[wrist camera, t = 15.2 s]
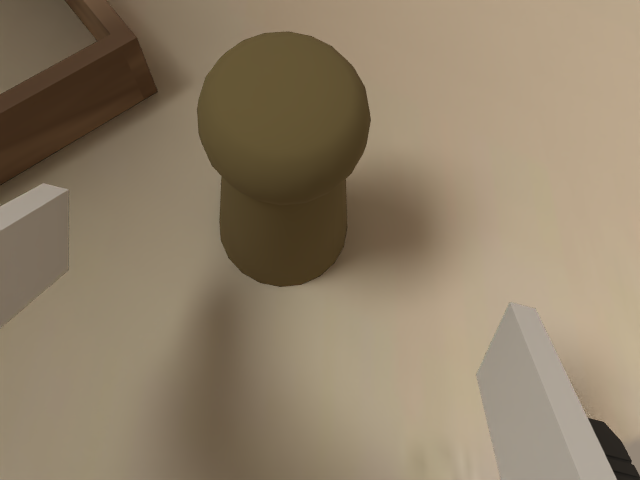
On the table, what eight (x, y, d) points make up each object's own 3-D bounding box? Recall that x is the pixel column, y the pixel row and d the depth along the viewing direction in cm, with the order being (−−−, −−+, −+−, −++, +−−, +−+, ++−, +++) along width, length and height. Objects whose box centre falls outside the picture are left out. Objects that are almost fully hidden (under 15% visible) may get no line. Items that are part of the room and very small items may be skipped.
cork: (195, 206, 24) (131, 54, 14) (301, 146, 26) (314, -34, 15) (263, 312, 23) (249, 229, 13) (371, 242, 24) (438, 116, 14)
